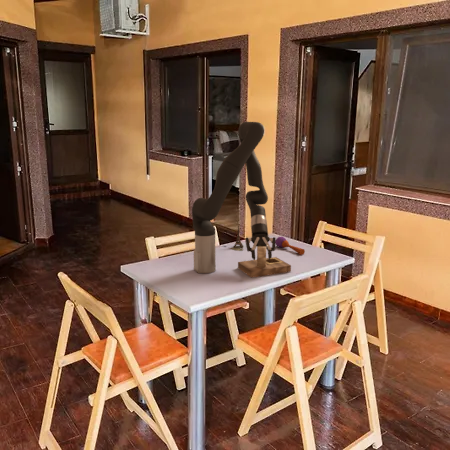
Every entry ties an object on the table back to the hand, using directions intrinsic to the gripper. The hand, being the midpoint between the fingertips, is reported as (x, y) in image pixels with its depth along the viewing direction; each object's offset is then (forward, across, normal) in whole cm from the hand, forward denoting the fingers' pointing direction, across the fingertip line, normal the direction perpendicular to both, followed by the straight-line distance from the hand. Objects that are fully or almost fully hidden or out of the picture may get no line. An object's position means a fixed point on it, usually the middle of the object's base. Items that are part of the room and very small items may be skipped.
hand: (262, 258), depth 213 cm
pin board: (+1, +2, +9) cm, 9 cm away
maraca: (-21, +19, +32) cm, 43 cm away
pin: (+2, 0, +4) cm, 4 cm away
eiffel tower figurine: (-26, -8, +37) cm, 45 cm away
